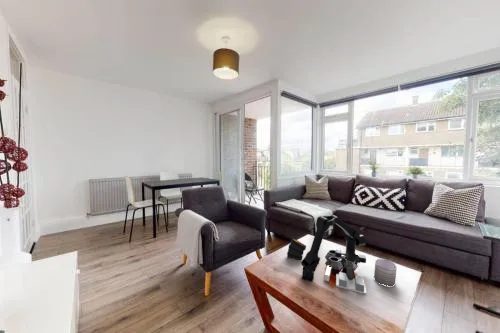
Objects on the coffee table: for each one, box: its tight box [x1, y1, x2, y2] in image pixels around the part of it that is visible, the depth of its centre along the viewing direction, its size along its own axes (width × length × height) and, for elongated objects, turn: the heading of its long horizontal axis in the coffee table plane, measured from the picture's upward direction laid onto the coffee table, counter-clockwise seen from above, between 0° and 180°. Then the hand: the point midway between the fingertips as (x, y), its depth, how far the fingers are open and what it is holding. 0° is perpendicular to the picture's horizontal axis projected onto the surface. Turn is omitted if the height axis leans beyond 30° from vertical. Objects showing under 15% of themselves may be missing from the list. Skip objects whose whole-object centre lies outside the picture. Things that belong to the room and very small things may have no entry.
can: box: [373, 258, 398, 286], centre depth 128 cm, size 11×11×12 cm
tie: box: [324, 265, 332, 282], centre depth 132 cm, size 12×2×4 cm, turn 153°
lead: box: [346, 267, 354, 280], centre depth 134 cm, size 17×4×4 cm, turn 157°
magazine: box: [286, 237, 307, 261], centre depth 152 cm, size 4×13×15 cm, turn 73°
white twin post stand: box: [335, 271, 368, 295], centre depth 124 cm, size 16×12×5 cm
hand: (349, 267), depth 139 cm, fingers open, 5 cm apart
